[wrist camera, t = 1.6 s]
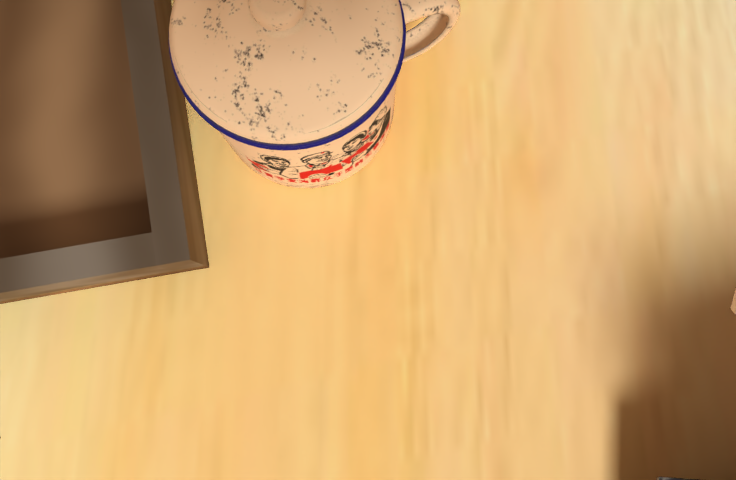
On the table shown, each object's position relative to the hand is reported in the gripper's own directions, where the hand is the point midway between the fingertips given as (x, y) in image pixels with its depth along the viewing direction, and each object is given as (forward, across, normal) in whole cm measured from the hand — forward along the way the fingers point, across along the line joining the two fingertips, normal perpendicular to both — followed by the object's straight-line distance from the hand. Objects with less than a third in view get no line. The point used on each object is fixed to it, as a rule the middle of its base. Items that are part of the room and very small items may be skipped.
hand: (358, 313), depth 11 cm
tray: (+26, -16, -6) cm, 31 cm away
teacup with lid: (+24, 0, -8) cm, 25 cm away
